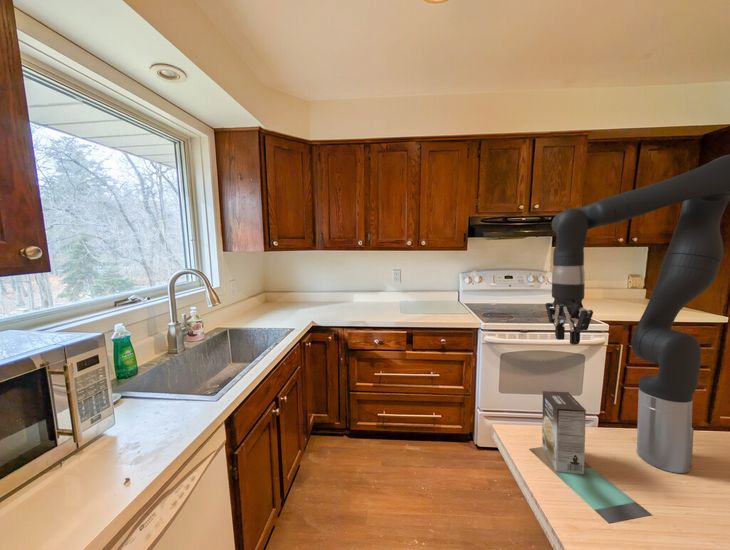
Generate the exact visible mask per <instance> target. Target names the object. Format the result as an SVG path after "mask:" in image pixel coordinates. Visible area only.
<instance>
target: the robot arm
mask: <svg viewBox="0 0 730 550" xmlns="http://www.w3.org/2000/svg"><path fill="white" fill-rule="evenodd" d="M681 202H682V206H681V211H680V214H679V218H678V221H677V224H676V226H675V228H674V231H673V234H672V237H671V240H670V242H669V245H668V248H667V250H666V252H665V255H664V258H663V260H662V262H661V267H660V270H659V274H658V277H657V280H656V282H655V286H654V288H653V289H652V293H651V296H650V298H649V300H648V303H647V305H646V307H645V310H644V312H643V313H642V315H641V317H640V319H639V321H638V323H637V325H636V327H635V329H634V332H633V334H632V338H631V342H630V343H631V344H630V345H631V350H632V352H633V354H634V355H635V356H636V357H637V358H639V359H640V360H644V361H646V362H648V363H650V364H655V365H657V366H658V371H657V374H648V375H642V376H640V378H639V380H638V398H637V399H638V400H637V429H636V430H637V433H636V434H637V435H636V453H637V456H638V457H639V458H640V459H642V460H643V461H644V462H645V463H648V464H650V465H651V466H653V467H655V468H658V469H661V470H664V471H665V472H670V473H675V474H685V473H688V472H689V471H690V467H692V466H693V450H694V449H693V446H694V428H693V427H692V423H693V399H694V394H695V391H696V390H697V388H698V384H699V379H700V378H699V377H700V370H701V364H702V363H701V362H702V349H701V344H700V343H699V340H698V339H697V338H696V337H695V336H694V335H691V334H689V333H687V332H683V331H679V330H675V329H672V327H673V324H674V321H675V319H676V317H677V316H678V314H679V313H680V311H681V310H682V309H684V307H686V305H688V304H689V303H691V301H693V300H694V299H696V298H697V297H699V296H700V295H701V294H702V293H703V292H705V291H706V290H707V289H708V288H709V287H711V286H712V285H713V283H714V281H715V280H716V277H717V274H718V272H719V269H720V266H721V263H722V261H723V257H724V243H723V238H722V235H721V229H720V228H721V221H722V217H723V214H724V213H725V210H726V208H727V205H728V204H729V202H730V154H726V155H722V156H720V157H716V158H715V159H713V160H711V161H709V162H708V163H704V164H702V165H700V166H699V167H696V168H693V169H691V170H688V171H685V172H684V173H680V174H679V175H676V176H673V177H671V178H668V179H665V180H661V181H659V182H656V183H652V184H648V185H646V186H645V185H644V186H642V187H639V188H636V189H632V190H628V191H626V192H622V193H618V194H614V195H612V196H609V197H605V198H601V199H599V200H597V201H594V202H592V203H590V204H587V205H583V206H580V207H576V208H575V207H573V208H568V209H565V210H563V211H561V212H559V213H557V214H556V215H555V216H554V217H553V219H552V221H551V228H552V231H553V232H554V233H555V234H556V245H555V246H554V249H553V254H552V255H553V257H552V271H551V298H552V299H554V300H553V302H546V303H545V309H546V313H547V319H548V322H549V323H550V324H553V326H554V328H555V329H554V334H555V335H554V337H555V339H556V340H560V341H561V340H565V335H566V334H565V332H566V331H565V329H566V327H565V323H566V322H567V324H568V326H569V329H570V331H569V344H570V345H573V346H575V345H576V346H577V345H579V343H580V341H581V331H587V330H589V329H588V328H589V326H590V323H591V320H592V318H593V314H594V311H593V310H592V309H587V308H585V307H584V305H583V302H582V301H583V300H584V299H585V281H586V278H585V277H586V275H585V267H584V265H585V252H584V251H585V250H584V248H585V244H586V240H587V234H588V230H590V229H594V228H598V227H604V226H609V225H614V224H617V223H620V222H624V221H627V220H631V219H634V218H638V217H640V216H644V215H647V214H649V213H651V212H655V211H658V210H660V209H663V208H666V207H669V206H671V205H675V204H678V203H681Z"/></svg>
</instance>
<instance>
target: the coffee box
mask: <svg viewBox="0 0 730 550" xmlns="http://www.w3.org/2000/svg"><path fill="white" fill-rule="evenodd" d="M586 412H587V410H586V409H585V408H584V407H583V406H582V405H581V404H580V402H578V401H577V400H576V398H575V397H573V395H572V394H571V393H570V392H569V391H548V390H547V391H546V390H544V391H542V425H541V427H542V428H541V430H542V434H541V435H542V438H541V439H542V441H541V444H542V446H541V447H542V448H543V449H544V451H545V453H546V455H547V456H548V458H549V460H550V462H551V463H552V465H553V467H554V468H555V470H556V471H557V472H566V473H576V474H584V462H585V452H586V450H585V449H586V447H585V446H586V445H585V443H586V419H587V417H586V415H587V413H586Z"/></svg>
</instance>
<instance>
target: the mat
mask: <svg viewBox="0 0 730 550" xmlns="http://www.w3.org/2000/svg"><path fill="white" fill-rule="evenodd" d="M528 450H529V451H530V452H531V453H532V454H533V455H534V456H535V457H537V459H539V460H540V461H541V462H542V463H543V464H544V465H545V466H546V467H547V468H548V469H550V471H551V472H552V473H554V474H555V475H556V476H557V477H558V478H559V479H561V481H562V482H564V484H566V485H567V486H568V487H569V488H570V489H571V490H572V491H573V492H574V493H575V494H576V495H577V496H579V497H580V498H581V499H582V500H583V502H585V503H586V504H587V505H588V506H590V508H592V509H593V510H594V511H595V512H596V513H597V514H598V515H599V516H600V517H601V518H602V519H603V520H604V521H605V522H607V524H614V523H618V522H624V521H629V520H634V519H638V518H643V517H648V516H653V514H652V513H651V512H650V511H648V510H647V509H645V508H644V507H643V506H642V505H640V504H639V503H638V502H637V501H635V500H634V499H633V498H632V497H630V496H629V495H628V494H627V493H625V492H624V491H622V490H621V489H620V488H619V487H618V486H616V485H615V484H614V483H612V482H611V481H610V480H608V479H607V478H606V477H604V476H603V475H602V474H601V473H599V472H598V471H597V470H596V469H594V468H593V467H592V466H591V465H589V464H588V463H586V462H585V461H584V474H576V473H566V472H557V471H556V470H555V468H554V467H553V465H552V463H551V462H550V460H549V458H548V456H547V455H546V453H545V451H544V449H543V448H542V446H539V447H532V448H528Z"/></svg>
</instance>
